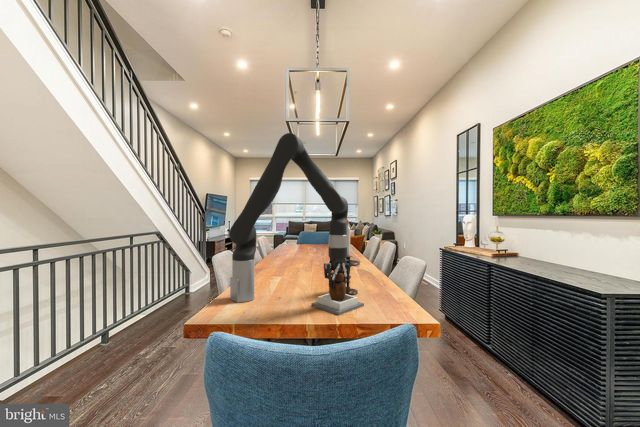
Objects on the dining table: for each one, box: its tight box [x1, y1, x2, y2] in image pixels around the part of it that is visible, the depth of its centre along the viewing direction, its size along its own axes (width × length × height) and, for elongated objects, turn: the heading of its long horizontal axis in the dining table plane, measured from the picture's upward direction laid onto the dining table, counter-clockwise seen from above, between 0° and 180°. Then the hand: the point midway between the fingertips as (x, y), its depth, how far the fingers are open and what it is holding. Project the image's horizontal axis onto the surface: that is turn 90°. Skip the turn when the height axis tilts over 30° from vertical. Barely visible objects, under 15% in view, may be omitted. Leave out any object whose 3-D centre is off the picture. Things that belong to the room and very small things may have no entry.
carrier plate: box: [311, 293, 365, 316], centre depth 117 cm, size 15×15×4 cm
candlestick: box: [345, 218, 360, 296], centre depth 135 cm, size 11×11×35 cm
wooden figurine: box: [328, 266, 346, 301], centre depth 117 cm, size 7×6×15 cm
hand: (337, 287), depth 117 cm, fingers closed on wooden figurine, 6 cm apart
